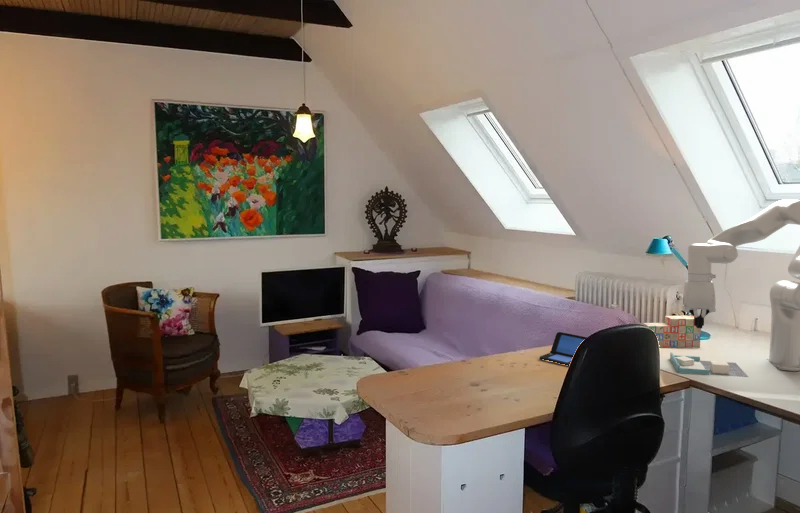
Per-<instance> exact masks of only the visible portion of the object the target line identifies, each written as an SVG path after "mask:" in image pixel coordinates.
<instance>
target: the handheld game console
mask: <svg viewBox="0 0 800 513" xmlns="http://www.w3.org/2000/svg"><path fill="white" fill-rule="evenodd" d="M586 338H587V336H581V335H578V334H574V333H573V334H572V333H567V332H561V331H557V332H556V334H555V337H554V339H553V343H552V346H551V350H550V351H549V352H547V353H546V354H543V355H541V356H539V360H540V359H544V360H549V361H553V362H557V363H560V364H565V365H568V366H569V364H570V362H571V359H572V357H573V355H574V353H575V351H576V349H577V347H578V346H579V345H580V343H581V342H582V341H583V340H584V339H586ZM568 366H567V367H568Z"/></svg>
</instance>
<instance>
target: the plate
mask: <svg viewBox="0 0 800 513" xmlns="http://www.w3.org/2000/svg"><path fill="white" fill-rule="evenodd" d="M710 361H711V360H700V361H699V362H700V364H701V365H702V366H703V368H704V369H705V370H710ZM726 362H727V363H728V365H729V374H724V373H713V372H712V371H711V370H710V372H709V376H710V375H712V376H727V377H741V378H743V377H744V378H749V375H748V374H746V372H745V371H744V370H743V369H742V368H741V367H740V366H739V365H738V364H737V363H736V362H729V361H726Z"/></svg>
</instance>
